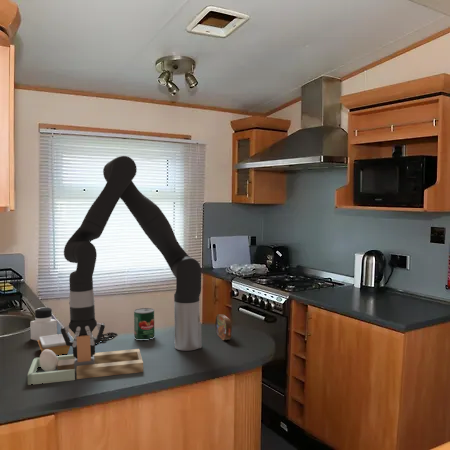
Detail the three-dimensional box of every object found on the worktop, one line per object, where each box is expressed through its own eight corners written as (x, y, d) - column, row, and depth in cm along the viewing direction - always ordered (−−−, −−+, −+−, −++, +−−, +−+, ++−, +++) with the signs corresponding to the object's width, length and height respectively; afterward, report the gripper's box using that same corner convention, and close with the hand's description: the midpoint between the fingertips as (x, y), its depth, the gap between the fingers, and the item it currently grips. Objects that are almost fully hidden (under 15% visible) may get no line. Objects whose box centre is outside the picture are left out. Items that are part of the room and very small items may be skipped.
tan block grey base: (94, 364, 151) (93, 331, 150) (94, 370, 145) (93, 336, 144) (75, 366, 149) (73, 332, 148) (74, 373, 143) (73, 338, 143)
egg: (62, 365, 147) (55, 344, 146) (57, 372, 142) (50, 350, 141) (46, 370, 147) (39, 348, 146) (41, 377, 142) (33, 355, 141)
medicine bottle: (57, 337, 182) (56, 307, 181) (41, 342, 176) (41, 311, 175) (46, 334, 186) (45, 305, 185) (30, 339, 180) (29, 309, 179)
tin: (214, 332, 188) (214, 311, 187) (222, 331, 189) (222, 311, 188) (225, 343, 173) (225, 321, 173) (233, 342, 174) (233, 320, 174)
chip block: (75, 367, 149) (75, 358, 149) (74, 373, 144) (74, 364, 144) (58, 369, 148) (58, 360, 147) (57, 375, 143) (57, 365, 143)
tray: (76, 362, 153) (76, 354, 153) (74, 380, 139) (74, 370, 139) (34, 367, 150) (34, 358, 150) (27, 385, 135) (27, 375, 135)
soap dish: (70, 355, 161) (70, 341, 161) (40, 360, 157) (40, 345, 157) (65, 345, 172) (65, 332, 172) (37, 349, 168) (37, 336, 168)
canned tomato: (146, 342, 175) (145, 313, 175) (130, 339, 179) (129, 311, 178) (158, 336, 182) (158, 309, 182) (143, 333, 186) (142, 307, 185)
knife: (75, 356, 161) (75, 352, 161) (61, 353, 164) (61, 350, 164) (121, 336, 184) (121, 333, 184) (108, 334, 187) (108, 331, 187)
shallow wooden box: (139, 357, 158) (139, 348, 158) (143, 371, 145) (143, 362, 145) (78, 363, 153) (78, 354, 153) (76, 379, 140) (76, 369, 139)
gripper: (105, 299, 151) (106, 350, 152) (59, 303, 147) (61, 355, 148) (105, 304, 144) (107, 358, 145) (57, 308, 140) (59, 363, 141)
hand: (84, 356), depth 147 cm, fingers closed on tan block grey base, 4 cm apart
